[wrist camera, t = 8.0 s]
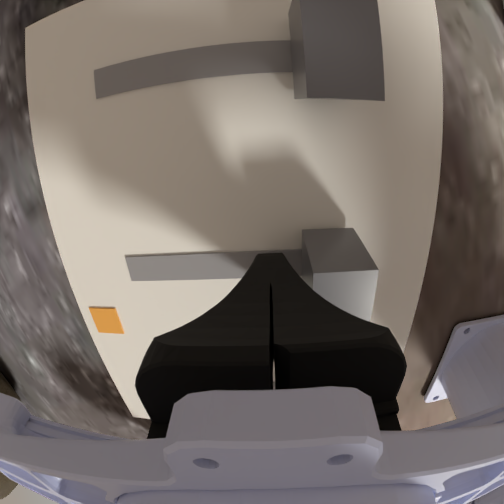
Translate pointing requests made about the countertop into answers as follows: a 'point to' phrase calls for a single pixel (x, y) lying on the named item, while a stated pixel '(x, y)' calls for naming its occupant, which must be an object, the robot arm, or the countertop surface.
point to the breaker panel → (222, 159)
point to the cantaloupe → (3, 485)
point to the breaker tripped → (340, 269)
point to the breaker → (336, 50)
